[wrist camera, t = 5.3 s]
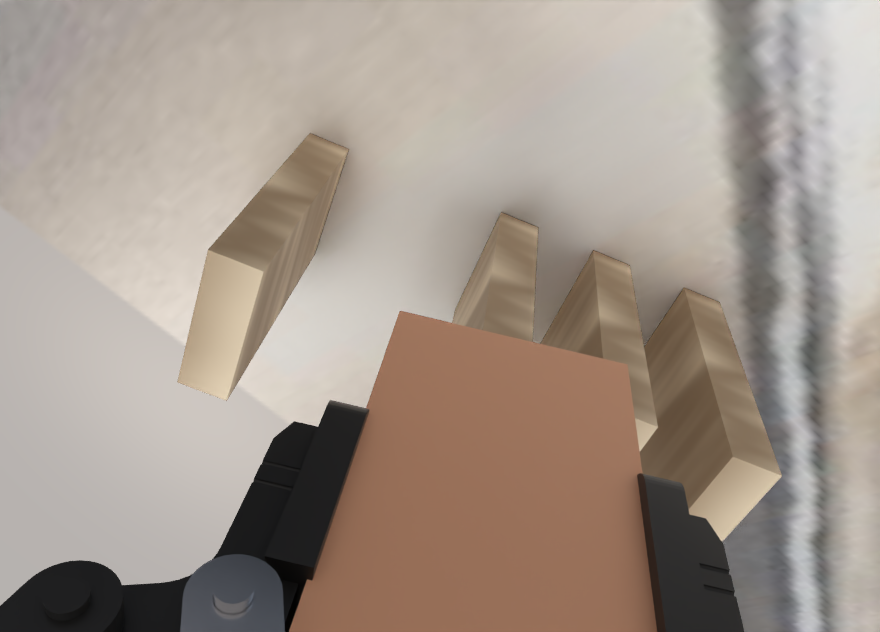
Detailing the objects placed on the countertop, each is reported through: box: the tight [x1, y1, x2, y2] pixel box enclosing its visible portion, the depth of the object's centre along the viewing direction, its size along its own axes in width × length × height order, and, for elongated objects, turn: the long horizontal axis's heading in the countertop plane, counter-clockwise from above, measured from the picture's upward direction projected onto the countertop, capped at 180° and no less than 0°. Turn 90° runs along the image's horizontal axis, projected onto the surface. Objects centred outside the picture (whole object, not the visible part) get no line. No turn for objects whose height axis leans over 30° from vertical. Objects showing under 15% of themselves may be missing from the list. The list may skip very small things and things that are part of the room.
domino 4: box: [541, 250, 658, 451], centre depth 27 cm, size 2×5×10 cm, turn 159°
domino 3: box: [289, 311, 657, 632], centre depth 12 cm, size 2×5×10 cm, turn 79°
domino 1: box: [178, 133, 349, 401], centre depth 26 cm, size 2×5×10 cm, turn 159°
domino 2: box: [452, 212, 538, 342], centre depth 27 cm, size 2×5×10 cm, turn 159°
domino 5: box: [640, 288, 782, 541], centre depth 27 cm, size 2×5×10 cm, turn 159°
